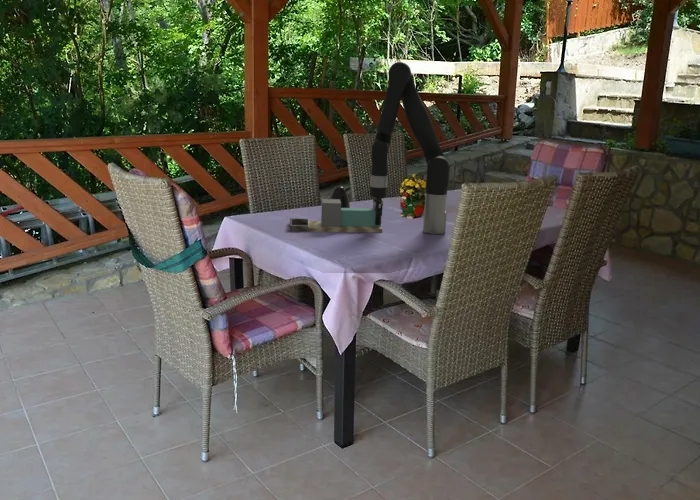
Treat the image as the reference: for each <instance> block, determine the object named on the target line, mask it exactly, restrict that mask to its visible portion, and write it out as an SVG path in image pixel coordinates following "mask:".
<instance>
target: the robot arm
mask: <svg viewBox="0 0 700 500" xmlns="http://www.w3.org/2000/svg"><path fill="white" fill-rule="evenodd" d="M387 75H388V81H387V88H386V95H385V98H384V101H383V106H382V109H381V112H380V114H379V119H378V123H377V127H376V130H377V131H376V135H375V139H374V141H373V143H372V145H371V168H370V169H371V170H370V171H371V172H370V178H369V179H370V180H369V182H370V184H369V196H370V197H371V198H372V208H373V209H374V211H375V212H376V213H375V217H376V218H375V224H376V225H380V222H381V223H382V216H383V208H384V207H383V206H384V201H383V199H382V198H386V197H387V196H388V182H389V181H388V171H389V169H388V167H389V165H388V153H389V150H390V146H391V143H392V142H391V141H392V135H393V133H394V130H395V126H396V123H397V118H398V115H399V113H398V112H399V108H400V103H401V104H402V107H403V111H404V114H405V118H406V120H407V123H408V126H409V128H410V130H411V133H412V135H413V136H414V139H415V140H416V142H417V143H418V144H419V146H420V149H421V150H422V153H423V155H424V159H425V162H426V179H425V182H426V183H425V197H424V208H423V209H424V212H423V226H422V232H423V233H426V234H430V235H442V234H446V226H447V214H448V212H447V211H446V210H447V198H448V188H449V187H448V186H449V178H450V177H449V175H450V165H449V164H450V163H449V161H448V158H447V157H446V156H445V154H444V152H443V151H442V148H441V146H440V145H439V142H438V139H437V136H436V131H435V128H434V126H433V122H432V119H431V116H430V114H429V112H428V110H427V108H426V104H425V103H424V102H423V100H422V97H421V96H420V95H419V92H418V90H417V87H416V85H415V82H414V78H413V75H412V70H411V67H410V66H409V65H408V64H407V63H405V62H402V61H397V62H394V63H392V65H391V66H390V67H389V68H388V74H387ZM378 211H380V213H378Z"/></svg>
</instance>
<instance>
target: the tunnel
mask: <svg viewBox="0 0 700 500" xmlns="http://www.w3.org/2000/svg"><path fill="white" fill-rule="evenodd" d="M320 221H321V223H322V227H340V226H341V201H340V199H330V198H321V220H320Z"/></svg>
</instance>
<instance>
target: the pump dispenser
mask: <svg viewBox="0 0 700 500" xmlns="http://www.w3.org/2000/svg"><path fill="white" fill-rule="evenodd" d="M350 190H351V187H349V186H348V187H346V188H345V187H343V186H342V185H338V186H335V187H334V189H333V191H332V193H331V195H330V198H329V199H340V201H341V208H351V204H350V199H349V196H348V195H349V194H348V191H350Z"/></svg>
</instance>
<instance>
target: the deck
mask: <svg viewBox="0 0 700 500" xmlns="http://www.w3.org/2000/svg"><path fill="white" fill-rule="evenodd" d="M289 232H303V233H304V232H305V233H306V232H308V233H309V232H311V233H312V232H313V233H314V232H315V233H316V232H317V233H318V232H320V233H321V232H323V233H325V232H326V233H328V232H329V233H383V227H382V225H381V226H340V227H322V223H321V220H309V218H297V217H295V218H294V217H293V218H289Z"/></svg>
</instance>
